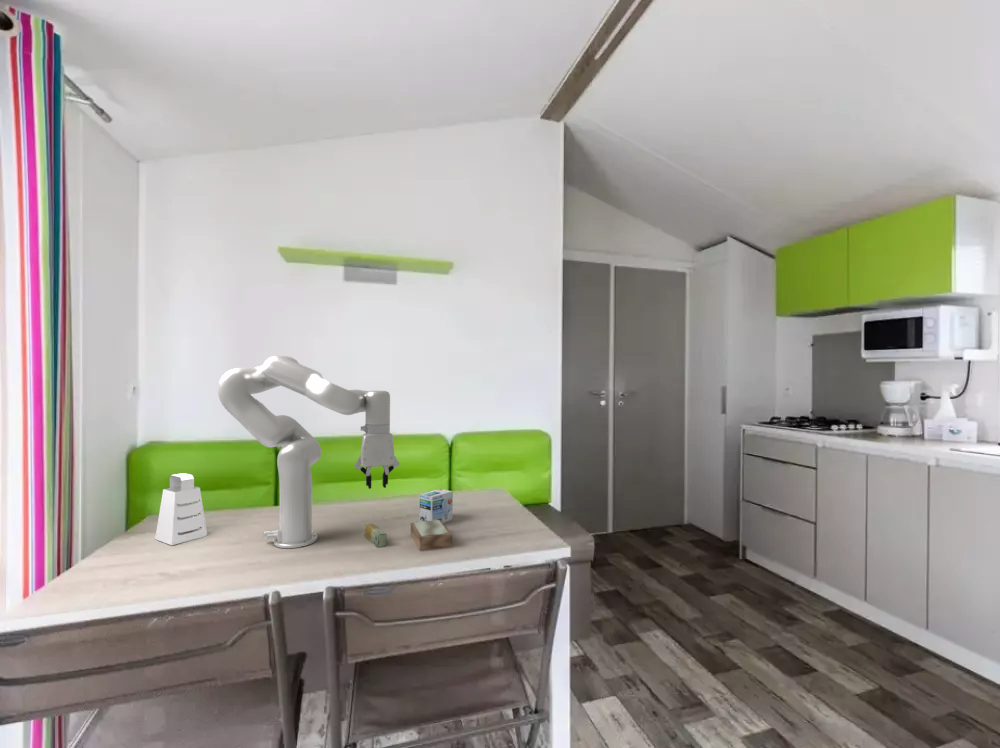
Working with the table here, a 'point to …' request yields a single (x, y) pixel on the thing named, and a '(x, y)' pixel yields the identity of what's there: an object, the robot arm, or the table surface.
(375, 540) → the medication box
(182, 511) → the grater
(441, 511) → the light bulb box
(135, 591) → the table surface
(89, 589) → the table surface
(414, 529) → the mirror with brown frame
